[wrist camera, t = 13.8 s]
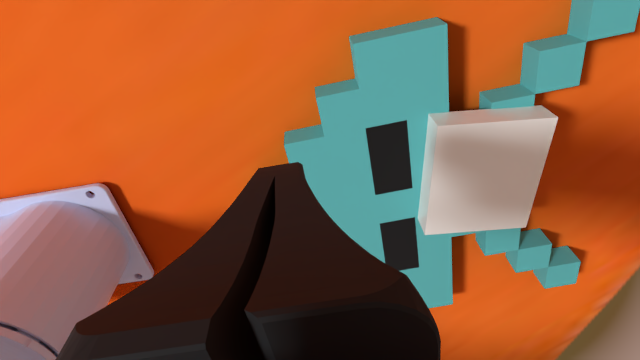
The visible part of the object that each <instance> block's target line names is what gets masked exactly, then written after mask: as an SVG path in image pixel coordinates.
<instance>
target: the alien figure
mask: <svg viewBox="0 0 640 360" xmlns="http://www.w3.org/2000/svg"><path fill="white" fill-rule="evenodd" d="M639 9H640V0H572V4H571V11H570V18H569V25H568V32H567V34H564V35H560V36H555V37H550V38H546V39H541V40H536V41H531V42H527V43H524V45H523V57H522V69H521V81H520V84H517V85H512V86H507V87H502V88H497V89H492V90H487V91H482V92H480V100H479V110H481V109H502V108H516V107H530V106H534V101H535V94H539V93H544V92H548V91H553V90H558V89H563V88H568V87H573V86H578V85H579V84H580V78H581V72H582V66H583V60H584V54H585V49H586V43H587V41H592V40H596V39H601V38H606V37H611V36H616V35H620V34H625V33H630V32H634V31H635V26H636V22H637V18H638V13H639ZM349 39H350V46H351V52H352V59H353V66H354V72H355V79H351V80H346V81H342V82H337V83H332V84H327V85H323V86H318V87H315V93H316V100H317V105H318V109H319V114H320V119H321V123H322V124H321V125H316V126H311V127H306V128H301V129H296V130H292V131H287V132H285V136H284V147H285V150H286V154H287V157H288V161H289V163H295V162H299V163H301V164H302V165H303V169H304V174H305V178H306V181H307V183H308V185H309V187H310V189H311V190H312V192H313V194H314V195H315V197H316V199H317V200H318V202H319V203H320V204H321V206H322V207H323V208H324V210H325V211H326V212H327V214H328V215H329V216H330V217H331V218H332V220H333V221H334V222H335V223H336V224H337V225H338V226H339V227H340V228H341V229H342V230H343V231H344V232H345V233H346V234H347V235H348V236H349V237H350V238H351V239H353V240H354V241H355V242H356V243H358V244H359V245H360V246H361V247H363V248H364V249H365V250H366V251H368V252H369V253H370V254H372V255H373V256H375V257H376V258H378V259H379V260H381V261H382V262H384V263H385V264H387V265H389V266H391V267H393V268H395V269H396V270H398V271H400V272H402V273H404V274H405V275H407V276H408V278H409V279H410V280H411V282H412V283H413V285H414V286H415V288H416V289H417V291H418V292H419V294H420V295H421V297H422V298H423V300H424V302H425V303H426V305H427V307H428V308H433V307H439V306H445V305H450V304H453V292H452V240H451V237H455V236H461V235H466V234H472V233H476V241H477V243H478V244H479V246H480V248H481V250H482V251H483V253H484V255H485V256H486V255H492V254H498V253H503V252H506V258H507V260H508V261H509V263H510V264H511V266H512V267H513V269H514V271H515V272H516V273H518V272H523V271H529V270H534V271H533V272H534V274H535V275H536V277H537V278H538V280H539V281H540V283H541V284H542V286H543V287H544V288H551V287H557V286H563V285H569V284H575V283H576V281H577V276H578V272H579V268H580V263H581V261H580V260H579V259H578V258H577V256H576V255H575V254H574V253H573V252H572V251H571V249H570V248H569V247H568V246H562V247H557V248H552V243H551V242H550V241H549V239H548V238H547V237H546V236H545V234H544V233H543V232H542V231H541V229H540V228H538V229H532V230H527V231H521V232H520V230H521V228H511V229H498V230H485V231H472V232H459V233H446V234H433V235H425V234H424V232H423V230H422V227H421V225H420V223H419V220H418V211H419V202H420V192H421V182H422V173H423V163H424V153H425V144H426V134H427V125H428V115H429V114H430V113H444V112H449V82H448V29H447V23H445V22H444V21H442V20H441V19H439V18H438V17H435V18H431V19H426V20H422V21H417V22H412V23H408V24H403V25H399V26H394V27H389V28H385V29H380V30H376V31H371V32H367V33H362V34H357V35H353V36H349Z"/></svg>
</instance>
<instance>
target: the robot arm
mask: <svg viewBox="0 0 640 360" xmlns="http://www.w3.org/2000/svg"><path fill="white" fill-rule="evenodd" d="M89 191H91V192H93V193H94V194H95V195H94V194H91V193H90V192H89ZM139 274H141V275H139ZM153 275H154V270H153V268H152V266H151V264H150V263H149V261H148V259H147V257H146V255H145V254H144V252H143V250H142V248H141V246H140V244H139V243H138V241H137V239H136V237H135V235H134V234H133V232H132V230H131V228H130V226H129V225H128V223H127V221H126V219H125V217H124V215H123V214H122V212H121V210H120V208H119V206H118V205H117V203H116V201H115V199H114V197H113V196H112V194H111V192H110V190H109V188H108V187H107V186H106V185H104V184H101V183H96V184H90V185H84V186H78V187H72V188H65V189H59V190H53V191H47V192H41V193H35V194H29V195H23V196H17V197H11V198H5V199H0V360H440V344H441V341H440V335H439V331H438V328H437V325H436V323H435V320H434V318H433V316H432V314H431V312H430V310H429V309H428V307H427V305H426V303H425V302H424V300H423V298H422V297H421V295H420V294H419V292H418V291H417V289H416V288H415V286H414V285H413V283H412V282H411V280H410V279H409V278H408V276H407V275H405V274H404V273H402V272H400V271H398V270H396V269H395V268H393V267H391V266H389V265H387V264H385V263H384V262H382V261H381V260H379V259H378V258H376V257H375V256H373V255H372V254H370V253H369V252H368V251H366V250H365V249H364V248H363V247H361V246H360V245H359V244H358V243H356V242H355V241H354V240H353V239H351V238H350V237H349V236H348V235H347V234H346V233H345V232H344V231H343V230H342V229H341V228H340V227H339V226H338V225H337V224H336V223H335V222H334V221H333V220H332V218H331V217H330V216H329V215H328V214H327V212H326V211H325V210H324V208H323V207H322V206H321V204H320V203H319V202H318V200H317V199H316V197H315V195H314V194H313V192H312V190H311V189H310V187H309V185H308V183H307V181H306V178H305V174H304V169H303V165H302V164H301V163H299V162H295V163H289V164H282V165H276V166H270V167H264V168H259V169H258V170H257V171H256V173H255V174H254V175H253V177H252V178H251V179H250V181H249V182H248V183H247V185H246V186H245V188H244V189H243V190H242V192H241V193H240V194H239V196H238V197H237V198H236V200H235V201H234V202H233V203H232V205H231V206H230V207H229V208H228V209H227V211H226V212H225V213H224V214H223V215H222V216H221V217H220V219H219V220H218V221H217V222H216V223H215V224H214V225H213V226H212V228H211V229H210V230H209V231H208V232H207V233H206V234H205V235H204V236H203V237H201V238H200V239H199V240H198V241H197V242H196V243H195V244H194V245H193V246H192V247H191V248H190V249H188V250H187V251H186V252H185V253H184V254H182V255H181V256H180V257H178V258H177V259H176V260H175V261H173V262H172V263H171V264H170V265H168V266H167V267H166V268H165V269H163V270H162V271H161V272H159V273H158V274H157V275H155V276H154V277H153ZM143 280H148V281H146V282H145V283H144V284H142V285H140V286H139V287H137V288H136V289H134V290H133V291H131V292H130V293H128V294H126V295H125V296H123V297H122V298H120V299H118V300H117V301H115V302H113V303H111V304H109V305H108V303H109V301H110V299H111V297H112V295H113V293H114V291H115V289H116V287H117V285H118V284H123V283H130V282H136V281H143ZM107 305H108V306H107Z"/></svg>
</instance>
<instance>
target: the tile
mask: <svg viewBox="0 0 640 360" xmlns="http://www.w3.org/2000/svg"><path fill="white" fill-rule="evenodd" d="M557 121H558V117H557V116H556V115H554V114H553V113H552V112H550V111H549V110H547V109H546V108H545V107H543V106H542V105H537V106H530V107H516V108H502V109H481V110H467V111H453V112H444V113H430V114H429V115H428V125H427V134H426V144H425V153H424V163H423V173H422V182H421V192H420V202H419V211H418V220H419V223H420V225H421V227H422V230H423V232H424V234H425V235H433V234H446V233H459V232H472V231H485V230H498V229H511V228H525V227H526V225H527V222H528V219H529V215H530V212H531V208H532V205H533V202H534V198H535V195H536V192H537V188H538V185H539V181H540V178H541V175H542V171H543V168H544V165H545V161H546V158H547V154H548V151H549V148H550V144H551V141H552V138H553V134H554V131H555V128H556V124H557Z"/></svg>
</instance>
